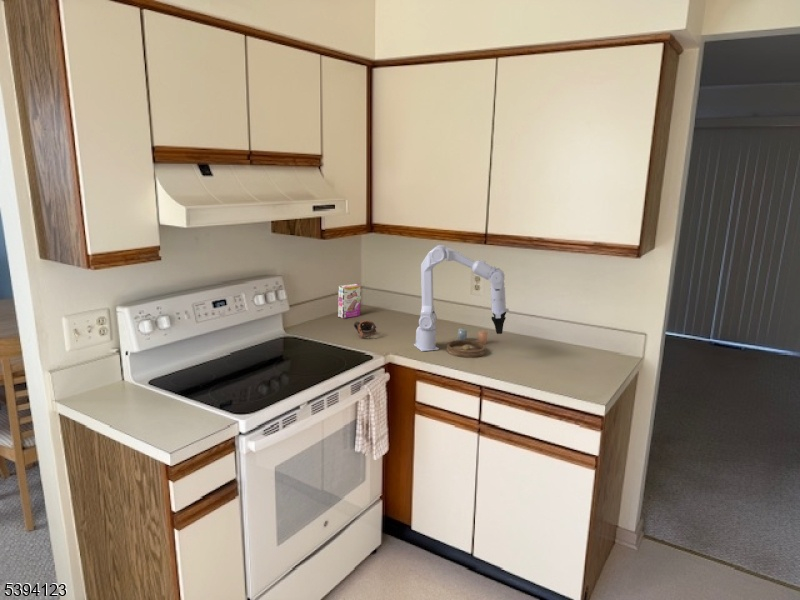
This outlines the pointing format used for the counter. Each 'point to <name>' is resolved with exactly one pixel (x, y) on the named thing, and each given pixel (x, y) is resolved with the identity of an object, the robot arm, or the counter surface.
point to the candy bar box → (349, 301)
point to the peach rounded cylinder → (482, 337)
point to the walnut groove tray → (466, 348)
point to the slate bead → (462, 334)
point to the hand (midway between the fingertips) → (499, 331)
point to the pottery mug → (365, 328)
